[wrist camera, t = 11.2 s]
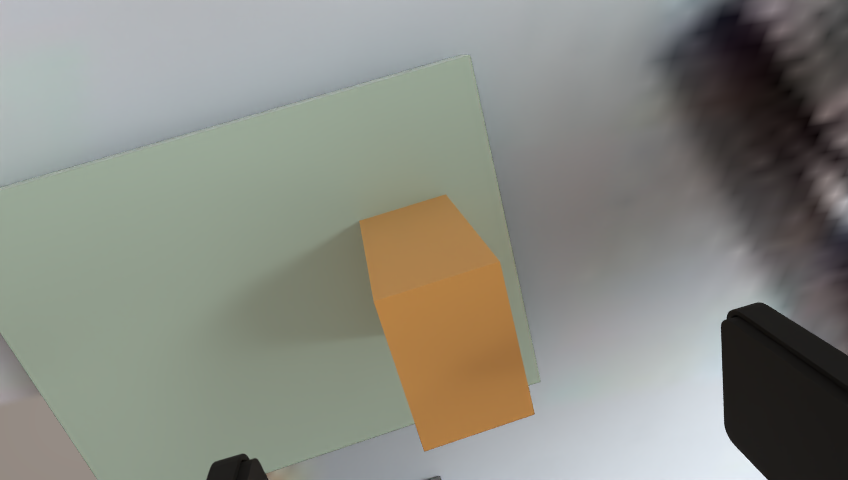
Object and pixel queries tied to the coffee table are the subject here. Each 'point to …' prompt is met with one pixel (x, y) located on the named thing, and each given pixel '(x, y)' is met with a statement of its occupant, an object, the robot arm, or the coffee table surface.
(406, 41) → the coffee table surface
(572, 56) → the coffee table surface
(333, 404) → the lid
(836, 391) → the robot arm
